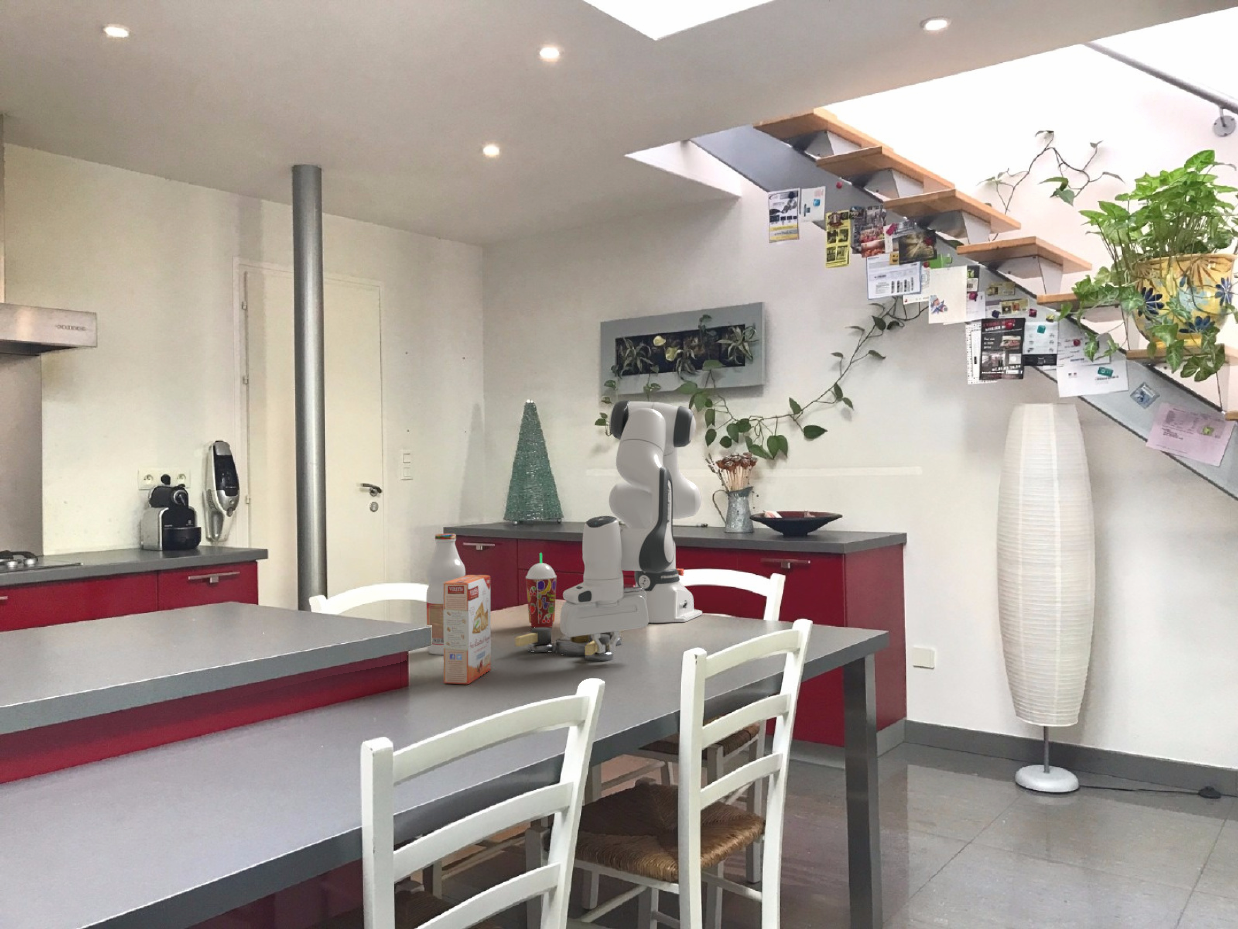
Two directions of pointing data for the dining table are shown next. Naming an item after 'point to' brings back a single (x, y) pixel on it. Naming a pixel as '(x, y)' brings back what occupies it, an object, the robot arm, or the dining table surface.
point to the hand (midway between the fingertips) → (606, 652)
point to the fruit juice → (441, 585)
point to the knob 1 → (535, 637)
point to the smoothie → (541, 594)
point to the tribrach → (573, 648)
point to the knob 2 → (591, 646)
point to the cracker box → (466, 628)
